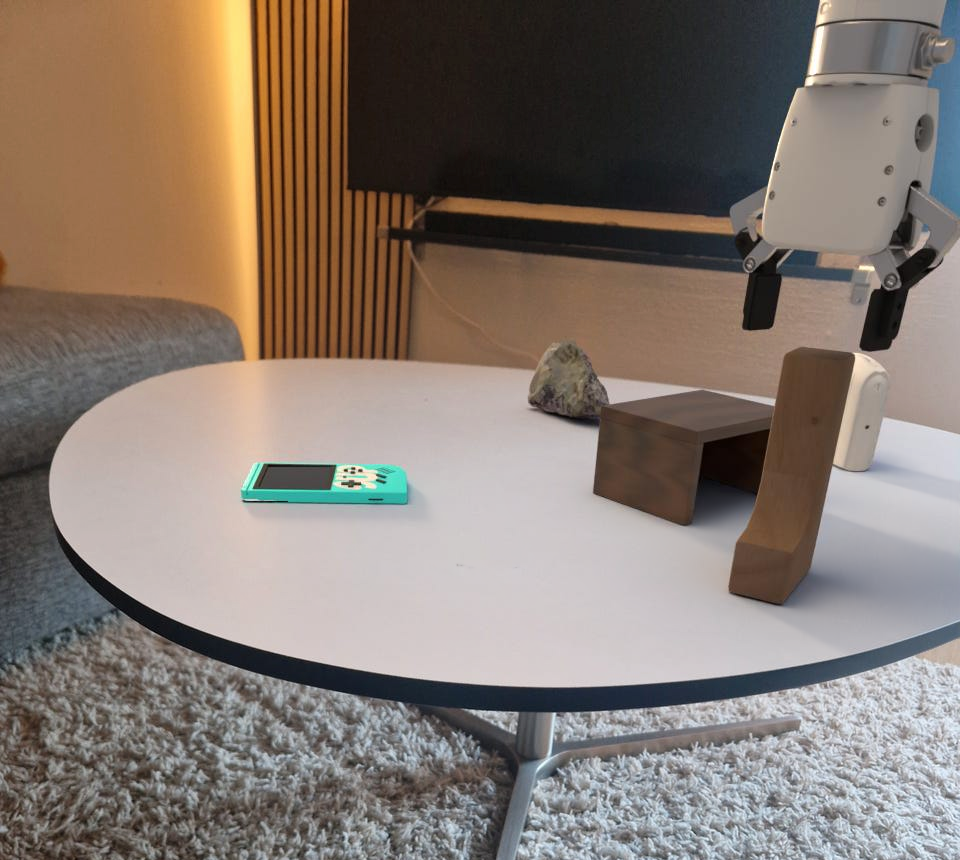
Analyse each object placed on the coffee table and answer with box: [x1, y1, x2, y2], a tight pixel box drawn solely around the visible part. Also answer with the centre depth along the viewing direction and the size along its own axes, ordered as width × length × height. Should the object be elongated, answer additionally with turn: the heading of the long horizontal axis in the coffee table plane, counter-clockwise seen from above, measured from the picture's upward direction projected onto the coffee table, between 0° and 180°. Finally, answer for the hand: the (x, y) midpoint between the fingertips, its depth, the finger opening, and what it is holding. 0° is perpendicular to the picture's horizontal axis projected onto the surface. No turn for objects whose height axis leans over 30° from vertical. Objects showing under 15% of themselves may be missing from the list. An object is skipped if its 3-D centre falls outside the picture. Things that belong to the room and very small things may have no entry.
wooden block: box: [727, 346, 855, 605], centre depth 72 cm, size 9×4×18 cm, turn 149°
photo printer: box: [833, 352, 892, 472], centre depth 109 cm, size 10×4×12 cm, turn 10°
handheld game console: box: [240, 461, 408, 505], centre depth 94 cm, size 10×16×1 cm, turn 95°
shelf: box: [592, 389, 775, 526], centre depth 94 cm, size 12×16×9 cm
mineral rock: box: [527, 338, 611, 420], centre depth 124 cm, size 13×11×10 cm
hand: (813, 339), depth 67 cm, fingers open, 9 cm apart
